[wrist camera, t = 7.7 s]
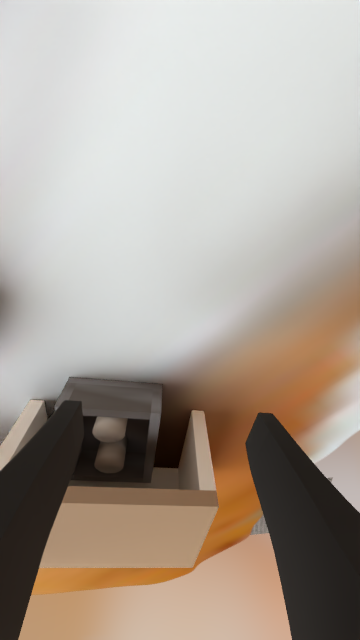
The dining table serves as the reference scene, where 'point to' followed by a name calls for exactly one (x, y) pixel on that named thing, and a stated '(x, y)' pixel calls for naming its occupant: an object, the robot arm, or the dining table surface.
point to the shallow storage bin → (129, 508)
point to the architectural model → (262, 526)
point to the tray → (117, 407)
